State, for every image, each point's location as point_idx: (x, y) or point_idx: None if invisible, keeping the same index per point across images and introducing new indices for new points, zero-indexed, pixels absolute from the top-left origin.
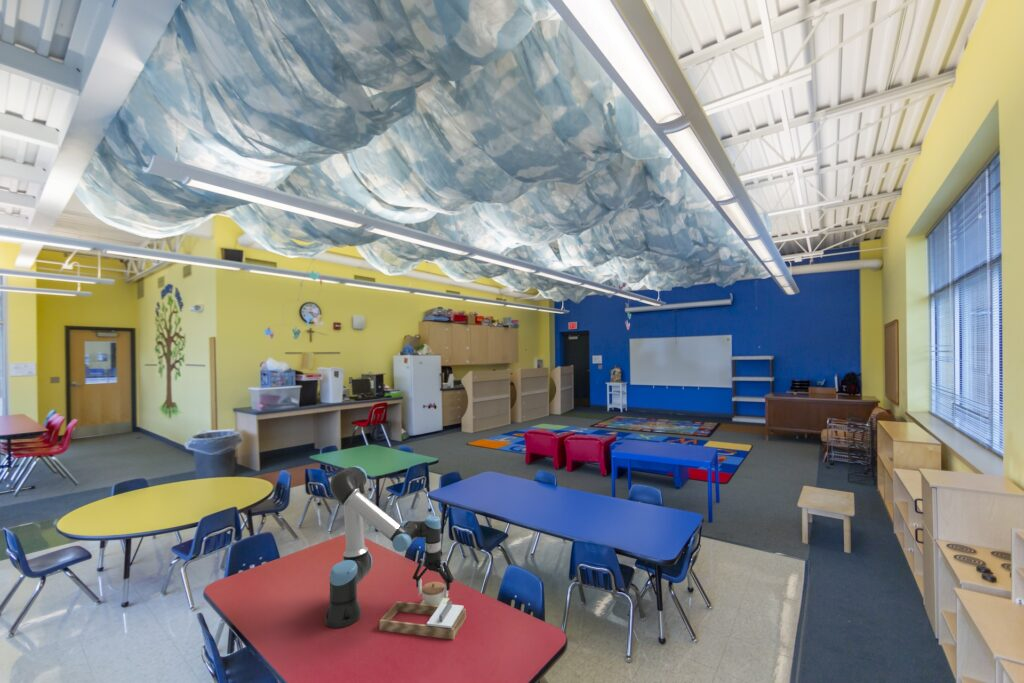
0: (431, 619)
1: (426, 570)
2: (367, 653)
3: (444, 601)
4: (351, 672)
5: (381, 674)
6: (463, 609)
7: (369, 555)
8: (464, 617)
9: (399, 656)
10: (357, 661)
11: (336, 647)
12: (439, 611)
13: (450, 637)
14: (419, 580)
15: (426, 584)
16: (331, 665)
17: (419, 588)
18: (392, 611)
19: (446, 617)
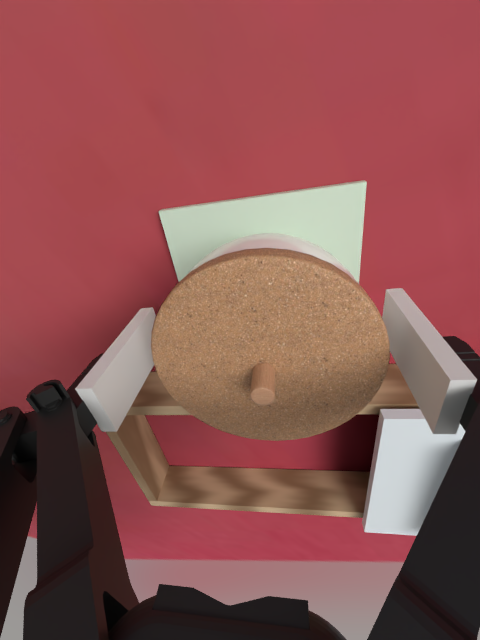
0: (377, 516)
1: (101, 538)
2: (213, 527)
3: (339, 245)
4: (226, 557)
5: (295, 560)
6: None
7: None
8: None
9: (305, 531)
10: (211, 541)
11: (121, 518)
12: (401, 475)
13: None
14: (97, 415)
15: (170, 353)
16: (168, 548)
17: (144, 379)
18: (134, 441)
19: None
